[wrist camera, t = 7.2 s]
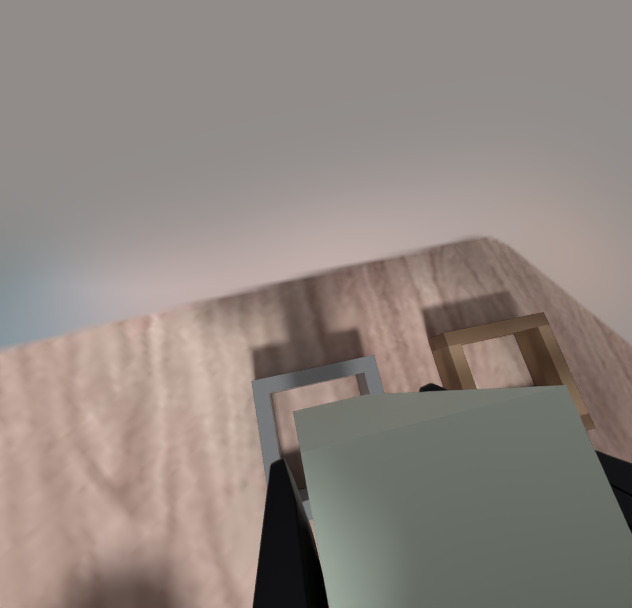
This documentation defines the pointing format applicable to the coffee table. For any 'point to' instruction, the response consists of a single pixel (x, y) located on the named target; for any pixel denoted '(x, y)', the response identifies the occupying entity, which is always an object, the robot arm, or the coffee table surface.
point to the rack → (534, 346)
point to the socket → (266, 386)
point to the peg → (463, 502)
